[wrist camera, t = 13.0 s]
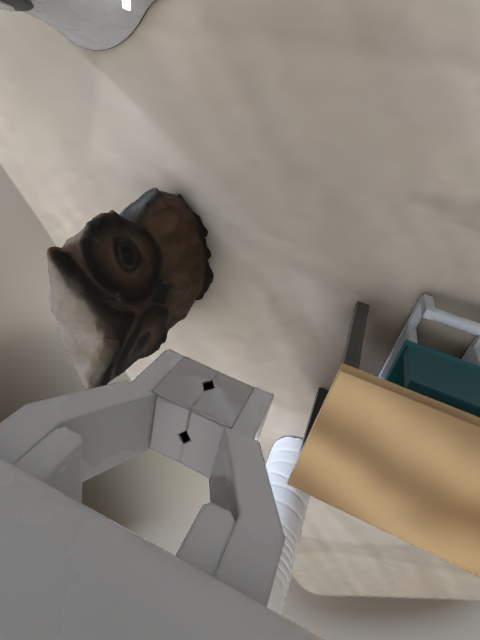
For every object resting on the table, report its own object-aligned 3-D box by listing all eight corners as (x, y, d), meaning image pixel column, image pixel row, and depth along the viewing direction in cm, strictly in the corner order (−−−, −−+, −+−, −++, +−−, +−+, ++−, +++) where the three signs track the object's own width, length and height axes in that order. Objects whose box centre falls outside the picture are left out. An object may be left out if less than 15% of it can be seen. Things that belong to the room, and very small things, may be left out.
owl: (179, 177, 41) (27, 208, 24) (253, 265, 42) (159, 354, 25) (121, 247, 47) (-28, 310, 31) (187, 321, 49) (78, 420, 32)
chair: (420, 288, 37) (429, 343, 27) (505, 316, 35) (547, 386, 25) (370, 382, 43) (363, 454, 33) (441, 410, 41) (455, 494, 32)
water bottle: (291, 476, 54) (226, 692, 33) (264, 443, 53) (179, 644, 32) (341, 459, 49) (303, 698, 29) (312, 423, 49) (250, 643, 28)
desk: (356, 298, 39) (339, 370, 28) (537, 364, 36) (608, 479, 24) (314, 394, 47) (286, 484, 35) (461, 456, 43) (487, 580, 31)
